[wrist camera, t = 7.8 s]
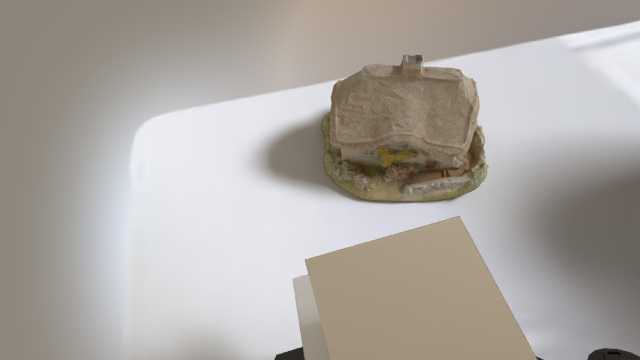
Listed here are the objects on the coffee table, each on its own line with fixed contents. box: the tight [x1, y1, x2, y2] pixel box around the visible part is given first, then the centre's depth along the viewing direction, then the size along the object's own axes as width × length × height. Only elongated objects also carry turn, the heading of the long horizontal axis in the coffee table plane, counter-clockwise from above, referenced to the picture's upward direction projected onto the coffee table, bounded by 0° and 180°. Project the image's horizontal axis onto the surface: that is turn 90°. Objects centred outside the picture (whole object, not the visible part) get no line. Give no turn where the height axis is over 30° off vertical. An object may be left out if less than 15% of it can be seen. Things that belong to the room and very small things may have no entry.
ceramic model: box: [321, 55, 489, 201], centre depth 27 cm, size 14×11×10 cm
